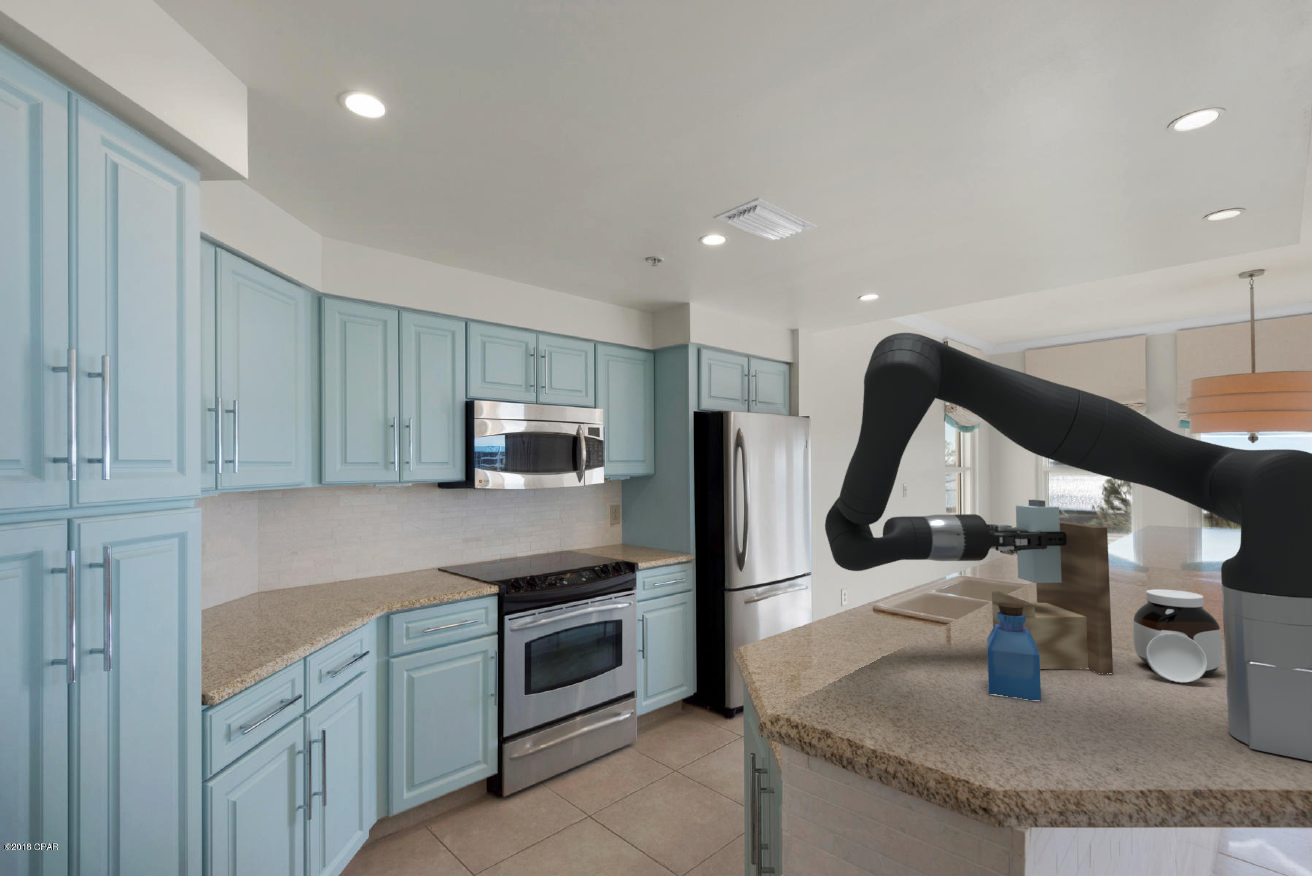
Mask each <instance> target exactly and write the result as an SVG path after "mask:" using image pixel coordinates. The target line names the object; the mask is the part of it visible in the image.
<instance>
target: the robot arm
mask: <svg viewBox="0 0 1312 876" xmlns="http://www.w3.org/2000/svg"><path fill="white" fill-rule="evenodd" d="M867 365H868V366H867V368H866V371H865V374H864V376H863V377H864V378H863V398H862V399H863V402H862V417H861V425H860V432H859V436H858V440H857V444H856V447H855V449H854V452H853V453H852V456H851V459H850V460H849V463H848V466H847V469H846V471H845V475H844V479H843V483H842V485H841V488H840V493H839V496H838V498H837V499H836V500H835V501H834V503H833V504H832V506H830V509H829V510H828V512H827V514H826V517H825V522H824V528H825V529H824V530H825V534H826V537H827V541H828V544H829V547H830V551H831V554H832V558H833V561H835V564H836V565H838V566H839V567H840V568H842V569H844V570H848V571H852V572H863V571H866V570H870V569H873V568H874V569H875V568H876V567H880V566H883V565H887V564H891V563H894V562H899V561H903V560H904V561H905V560H906V561H918V560H919V561H921V560H922V561H925V560H927V561H936V562H977V561H978V562H980V561H983V560H984V559H986V557H987V556H988V555H989V551H990V549H993V550H995V551H998V552H999V551H1000V552H1007V551H1009V550H1012V551H1013V550H1015V551H1016V552H1017V551H1020V550H1032V549H1047V546H1065V545H1066V543H1067V540H1066V533H1065V532H1061V531H1049V532H1043V531H1041V530H1037V531H1028V530H1027V529H1025V528H1016V526H1015V527H1013V526H1012V525H1008V524H999V525H998V524H993V523H987V522H986V521H985V519H984V518H983V517H982V516H980V515H979V514H975V513H969V514H966V513H964V514H957V513H956V514H931V515H923V516H922V515H921V516H919V515H918V516H917V515H916V516H914V515H913V516H911V515H910V516H909V515H908V516H903V515H902V516H893V517H889V518H888V519H887V520H886V521H885V522H884V524H883V528H882V536H881V537H880V536H878V537H875V536H874V534H873V532H872V529H871V526H870V525H873V524H875V523H877V522H878V521H880V519H882V517H883V515H884V513H885V511H886V508H887V505H888V502H889V499H890V497H891V494H892V492H893V488H894V485H895V482H896V479H897V476H898V475H897V474H898V471H899V468H900V465H901V461H902V458H903V455H904V454H905V450H906V448H907V447H908V444H909V442H910V441H911V438H912V437H913V435H914V433H915V432H916V430H917V428H918V427H919V425H920V424H921V422H922V420H923V419H924V417H925V415H926V414H927V412H928V411H929V409H930V408H931V406H932V405H933V403H934V401H935V400H936V399H937V400H939V401H940V400H941V401H943V402H946V403H949V404H952V405H956V406H958V407H961V408H962V409H965V410H967V411H969V412H971V413H973V414H975V416H978V417H979V418H980V419H982V420H983V421H985V422H986V423H987V424H989V425H990V426H991V427H993V429H995V430H996V431H998V432H999V433H1001V434H1002V435H1003V436H1005V437H1006V438H1007V439H1009V440H1010V441H1012V442H1013V443H1015V444H1016V445H1018V446H1019V447H1021V448H1023V449H1024V450H1026V451H1028V452H1030V453H1033V454H1035V455H1037V456H1040V457H1042V458H1045V459H1049V460H1051V461H1055V462H1057V463H1061V464H1063V465H1066V466H1069V467H1072V468H1075V469H1080V470H1083V471H1085V472H1089V473H1093V474H1096V475H1100V476H1104V477H1108V478H1112V479H1114V480H1120V481H1123V482H1129V483H1133V484H1136V485H1141V486H1145V487H1148V488H1152V489H1153V490H1157V491H1160V492H1162V493H1164V494H1168V495H1170V496H1172V497H1174V498H1177V499H1178V500H1181V501H1183V502H1186V503H1187V504H1190V505H1193V506H1195V507H1196V508H1200V509H1202V510H1204V511H1206V512H1209V513H1210V514H1212V515H1215V516H1217V517H1219V518H1221V519H1223V520H1226V521H1228V522H1231V523H1233V524H1236V525H1240V544H1239V548H1238V551H1237V553H1236V554H1235V555H1234V556H1232V557H1230V558H1228V559H1226V560H1224V561H1223V562H1222V564H1221V567H1220V571H1221V572H1220V573H1221V574H1220V576H1221V584H1222V585H1221V594H1222V595H1221V596H1222V598H1221V599H1222V619H1223V622H1222V623H1223V642H1224V644H1223V645H1224V661H1225V663H1224V665H1225V680H1226V681H1225V682H1226V684H1225V685H1226V686H1225V687H1226V698H1227V699H1226V701H1227V720H1228V721H1227V722H1228V732H1229V734H1230V735H1231V736H1232V737H1233V738H1235V739H1237V740H1238V741H1240V742H1242V743H1244V744H1246V745H1247V746H1249V747H1248V748H1249V749H1252V750H1256V751H1261V752H1265V753H1271V754H1274V755H1281V756H1285V757H1290V758H1294V759H1301V760H1305V761H1309V762H1312V452H1308V451H1304V450H1299V449H1288V448H1287V449H1274V448H1273V449H1244V448H1243V449H1241V448H1236V447H1230V446H1225V445H1221V444H1216V443H1210V442H1207V441H1203V440H1200V439H1195V438H1191V437H1188V436H1185V435H1181V434H1178V433H1175V432H1174V431H1171V430H1169V429H1167V428H1165V427H1163V426H1161V425H1160V424H1158V423H1156V422H1154V421H1153V420H1151V419H1150V418H1149V417H1147V416H1145V415H1144V414H1142V413H1140V412H1138V411H1137V410H1135V409H1133V408H1131V407H1129V406H1128V405H1125V404H1122V402H1121V403H1120V402H1118V401H1115V400H1113V399H1110V398H1107V397H1104V396H1102V395H1099V394H1095V393H1090V392H1088V391H1086V390H1085V391H1084V390H1081V389H1079V388H1075V387H1071V386H1068V385H1064V384H1060V383H1057V382H1054V381H1049V380H1047V379H1044V378H1040V377H1037V376H1035V375H1031V374H1027V373H1025V372H1022V371H1019V370H1016V369H1011V368H1008V367H1005V366H1001V365H998V364H995V363H992V362H989V361H987V360H984V359H981V358H979V357H976V356H974V355H972V354H969V353H966V352H964V351H962V350H960V349H957V348H955V347H952V346H950V345H947V344H946V343H944V342H941V341H939V340H936V339H934V338H931V337H928V336H926V335H923V334H919V333H913V332H900V333H899V332H898V333H892V334H890V335H888V336H886V337H884V338H883V339H881V340H880V341H879V342H878V343H877V344H876V346H875V347H874V349H873V351H872V354H871V356H870V358H869V362H868V364H867ZM1017 531H1019V532H1020V533H1018V532H1017Z"/></svg>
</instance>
